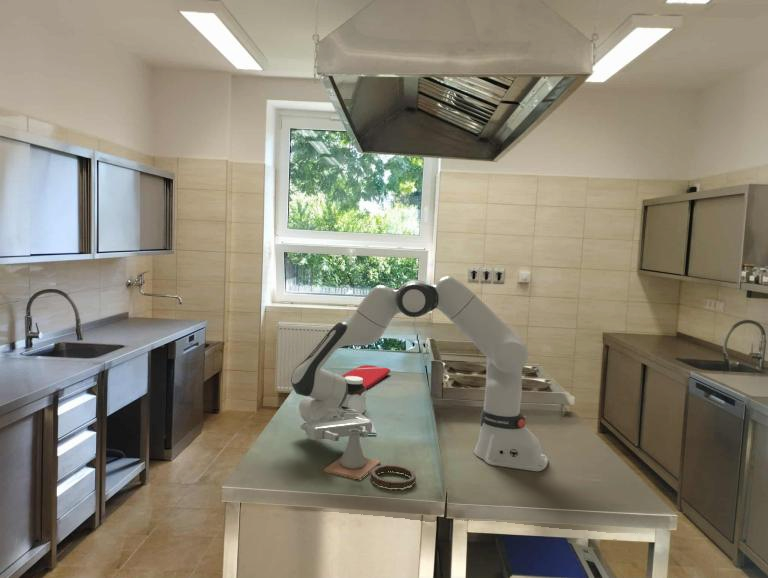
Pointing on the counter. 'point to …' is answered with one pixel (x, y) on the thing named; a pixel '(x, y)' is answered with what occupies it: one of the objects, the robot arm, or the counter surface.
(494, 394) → the robot arm
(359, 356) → the counter surface
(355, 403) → the spread jar
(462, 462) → the counter surface
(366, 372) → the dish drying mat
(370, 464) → the terracotta pad
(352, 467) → the flask
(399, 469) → the ring holder
